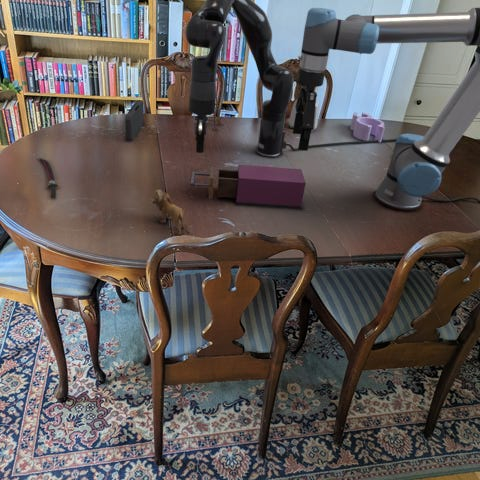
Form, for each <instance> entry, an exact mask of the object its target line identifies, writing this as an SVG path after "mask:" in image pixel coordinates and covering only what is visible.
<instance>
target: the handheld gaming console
mask: <svg viewBox="0 0 480 480" xmlns="http://www.w3.org/2000/svg"><path fill="white" fill-rule="evenodd" d="M144 115H145V114H144V101H143V100H139V99H138V100H136V102H134V103H133V105H132V106H131V108H130V109H129V110H128V111H127V113H126V114H125V117H124V128H125V129H124V130H125V139H126V141H133V140H134V139H135V137H136V136H137V134H138V133H139V131H140V130H141V128H142V127H143V125H144V122H145V116H144Z"/></svg>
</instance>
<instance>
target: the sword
mask: <svg viewBox="0 0 480 480" xmlns="http://www.w3.org/2000/svg"><path fill="white" fill-rule="evenodd" d="M40 161H41V162H42V163H43V165H44V166H45V169H46V173H47V176H48V185H47V188H50V198H56V197H57V189H56V188H57V187H59V185H58V184H57V183H56V180H55V176H54V172H53V169H52V167H51V164H50V163H49V161H48V160H46V159H43V158H40Z"/></svg>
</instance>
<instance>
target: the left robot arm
mask: <svg viewBox="0 0 480 480" xmlns="http://www.w3.org/2000/svg"><path fill="white" fill-rule="evenodd" d="M231 8H232V10H233V12H234V14H235V18H236V20H237V22H238V23H239V24H238V25H239V27H240V29H241V33H242V35H243V37H244V39H245V41H246V43H247V45H248V48H249V50H250V53H251V55H252V57H253V60H254V62H255V65H256V69H257V72H258V76H259V78H260V82H261V84H262V86H263V87H264V89H266V90H267V91H270V92H271V97H270V99H266V100H263V102H262V105H261V114H260V123H259V131H258V138H257V139H258V140H257V149H256V153H257V154H258V155H259V156H262V157H264V158H265V157H266V158H277V157H279V156H281V155H282V154H283V150H285V149H287V147H289V148H290V150H292V151H294V152H295V151H296V152H297V151H299V150H298V148H294V146H293V145H292V144H290V143H288V142H287V141H286V140H285V136H286V130H284V128H285V122H286V115H287V109H288V107H289V106H290V103H291V97H292V93H293V88H294V79H295V78H294V74H293V72H292V71H291V70H290V69H288V68H286V67H284V66H281V65H279V64H278V63H277V61H276V59H275V57H274V54H273V52H272V44H273V43H272V42H273V30H272V27H271V24H270V21H269V19H268V16H267V14H266V12H265V11H264V9H262V8H261V6H259V5H258V4H257V3H256V2H254V1H253V0H205V1H204V4H203V6H202V7H201V8H199V10H198V11H197V12H195V13H194V14H193V15H192V17H190V19H189V20H188V21H187V24H186V26H185V30H184V36H185V40H186V42H187V43H188V44H189V45H190V46H192V47H195V48H202V49H208V50H209V51H208V53H207V54H204V55H196V56H194V57H193V58H192V59H191V63H190V83H189V96H188V110H189V112H190V113H192V114H193V115H194V114H195V115H194V120H193V123H194V124H193V125H194V135H195V142H196V145H195V146H196V149H195V152H196V153H197V154H203V153H204V150H205V149H204V148H205V141H206V135H207V130H208V126H209V125H208V124H209V121H208V120H209V116H211V115H214V111H215V112H216V109H215V107H216V105H215V104H216V94H217V81H216V78H217V74H216V73H217V72H216V69H218V68H217V67H218V65H217V64H218V63H219V57H220V54H221V50H222V47H223V44H224V43H225V39H226V29H225V26H224V24H225V22H226V20H227V18H228V15H229V13H230V10H231ZM210 114H211V115H210ZM396 141H397V138H389V139H382V140H381V143H383V142H384V143H385V142H396ZM367 143H379V140H374V139H373V140H368V141H364V140H358V141H357V140H356V141H345V142H343V141H341V142H331V143H330V142H329V143H319V144H309V145H308V149H309V148H319V147H328V146H340V145H352V144H353V145H354V144H355V145H356V144H367Z"/></svg>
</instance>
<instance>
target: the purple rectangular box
mask: <svg viewBox="0 0 480 480" xmlns="http://www.w3.org/2000/svg"><path fill="white" fill-rule="evenodd" d="M237 170H238V189H237V198H235V205H237V206H238V205H239V206H251V207H252V206H253V207H267V208H280V209H281V208H282V209H294V210H295V209H297V210H301V209H302V205H303V201H304V196H305V195H304V194H305V191H306V184H307V182H306V179H305V177H304V173H303V170H302V168H290V167H277V166H266V165H265V166H263V165H251V164H250V165H249V164H237Z"/></svg>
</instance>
